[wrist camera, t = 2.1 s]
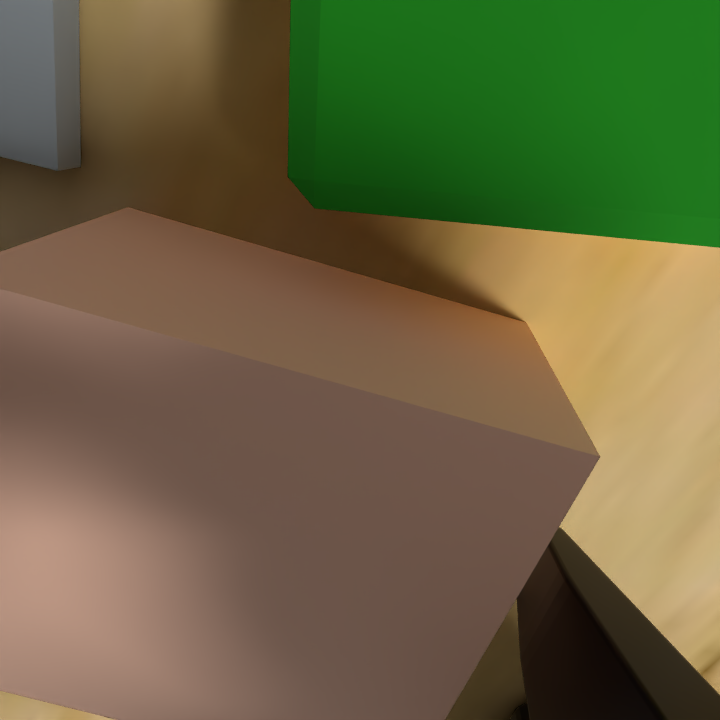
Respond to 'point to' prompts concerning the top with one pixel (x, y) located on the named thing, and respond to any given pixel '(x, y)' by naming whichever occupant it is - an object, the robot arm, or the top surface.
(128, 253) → the pink square block
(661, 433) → the top surface
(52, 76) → the slate mat
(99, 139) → the top surface
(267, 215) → the top surface
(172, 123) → the top surface
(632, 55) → the dish sponge
